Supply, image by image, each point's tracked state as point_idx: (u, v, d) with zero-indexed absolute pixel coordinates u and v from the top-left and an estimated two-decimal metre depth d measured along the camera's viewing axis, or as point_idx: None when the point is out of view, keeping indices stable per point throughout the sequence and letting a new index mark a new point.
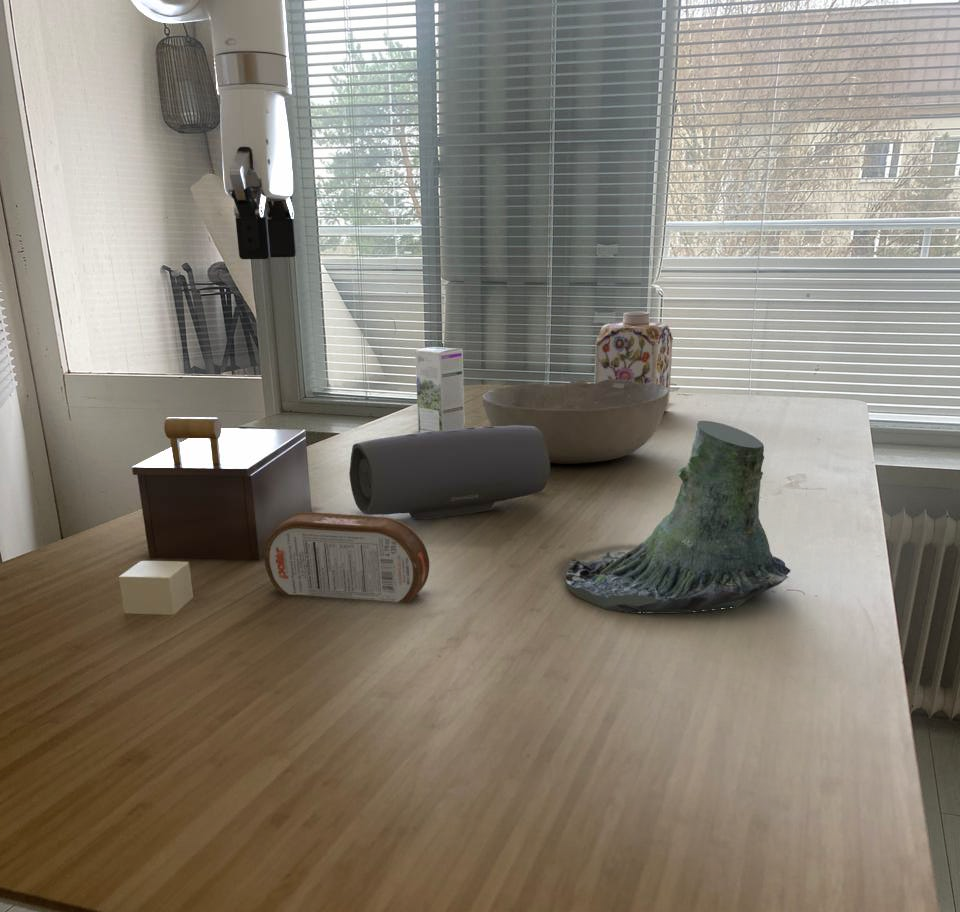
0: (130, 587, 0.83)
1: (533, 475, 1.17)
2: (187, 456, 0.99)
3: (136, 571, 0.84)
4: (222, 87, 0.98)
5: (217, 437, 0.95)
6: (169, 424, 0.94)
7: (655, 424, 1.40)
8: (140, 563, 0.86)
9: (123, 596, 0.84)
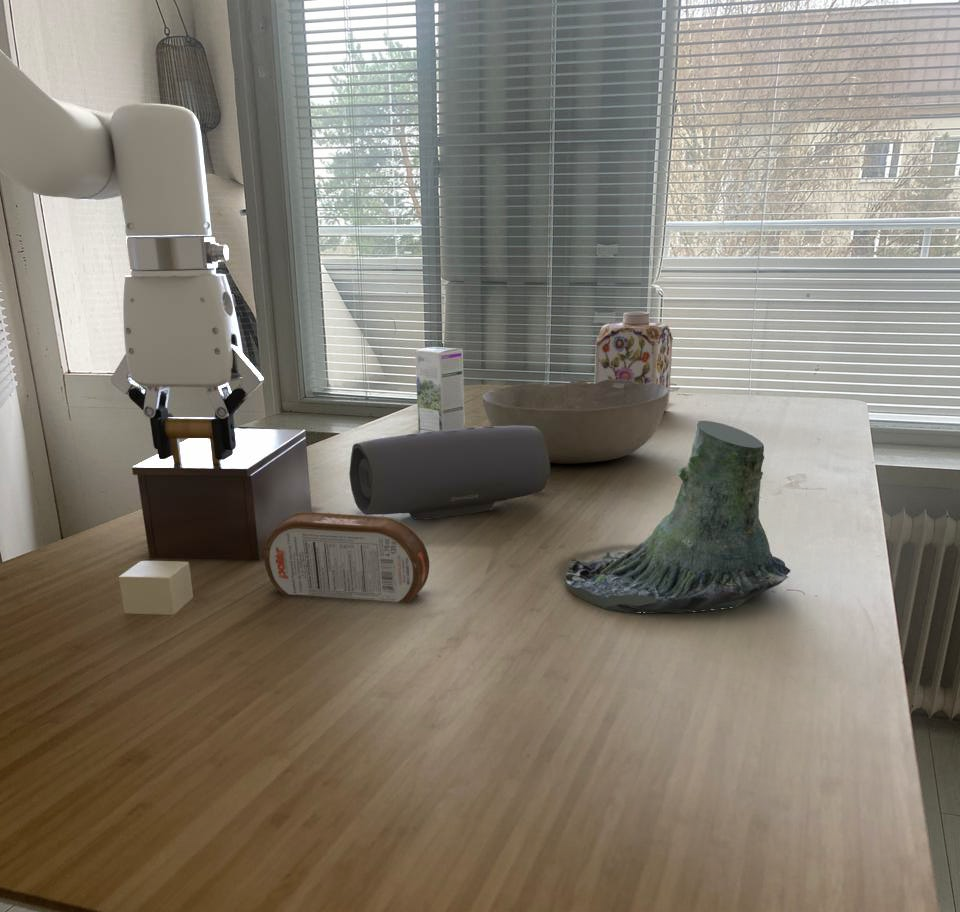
0: (130, 587, 0.83)
1: (533, 475, 1.17)
2: (187, 456, 0.99)
3: (136, 571, 0.84)
4: None
5: None
6: (169, 424, 0.94)
7: (655, 424, 1.40)
8: (140, 563, 0.86)
9: (123, 596, 0.84)
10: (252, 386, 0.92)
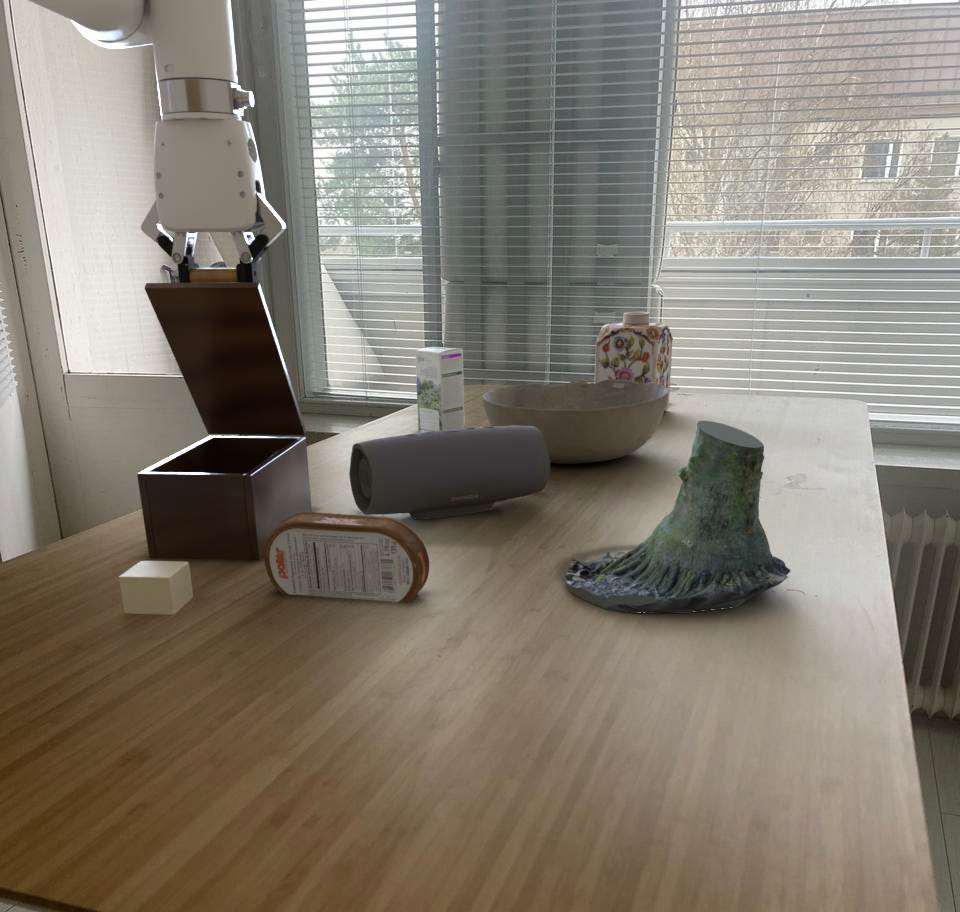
0: (130, 587, 0.83)
1: (533, 475, 1.17)
2: None
3: (136, 571, 0.84)
4: None
5: None
6: (196, 268, 0.99)
7: (655, 424, 1.40)
8: (140, 563, 0.86)
9: (123, 596, 0.84)
10: (275, 231, 0.97)
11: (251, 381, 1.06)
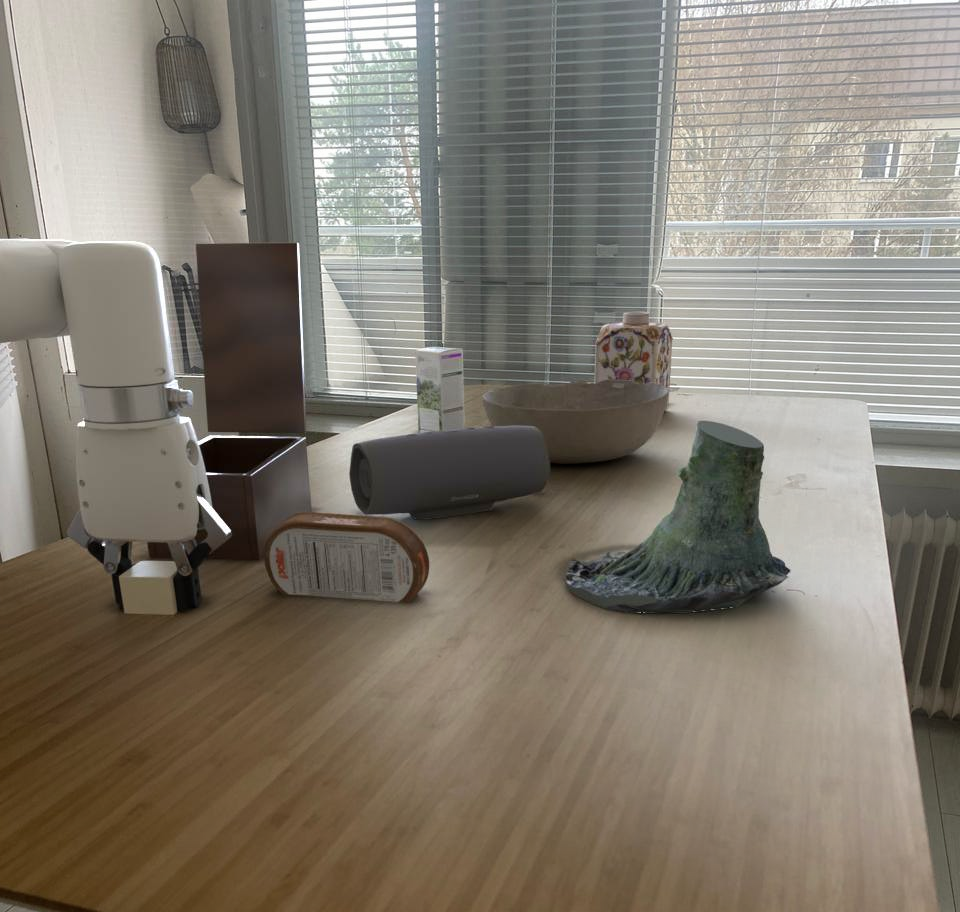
0: (130, 587, 0.83)
1: (533, 475, 1.17)
2: None
3: (136, 571, 0.84)
4: None
5: None
6: None
7: (655, 424, 1.40)
8: (140, 563, 0.86)
9: (123, 596, 0.84)
10: (219, 542, 0.83)
11: (266, 357, 1.10)
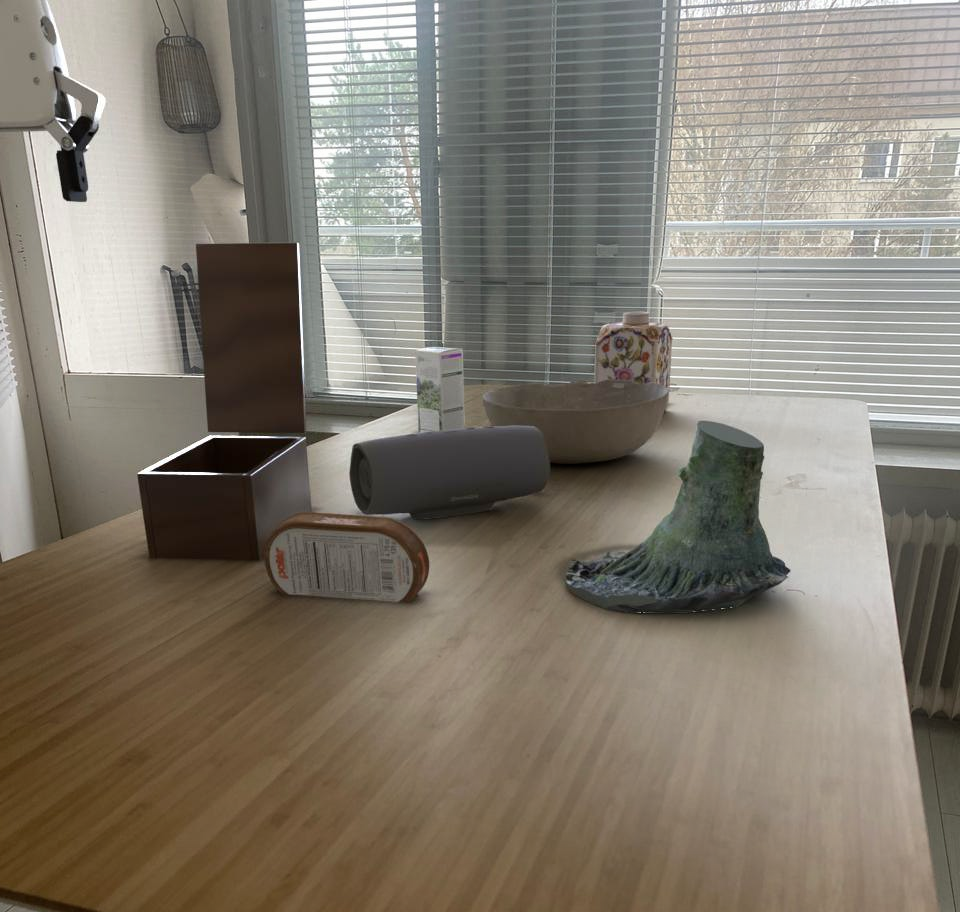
0: None
1: (533, 475, 1.17)
2: None
3: None
4: None
5: None
6: None
7: (655, 424, 1.40)
8: None
9: None
10: (93, 105, 0.84)
11: (266, 357, 1.10)
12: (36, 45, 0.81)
